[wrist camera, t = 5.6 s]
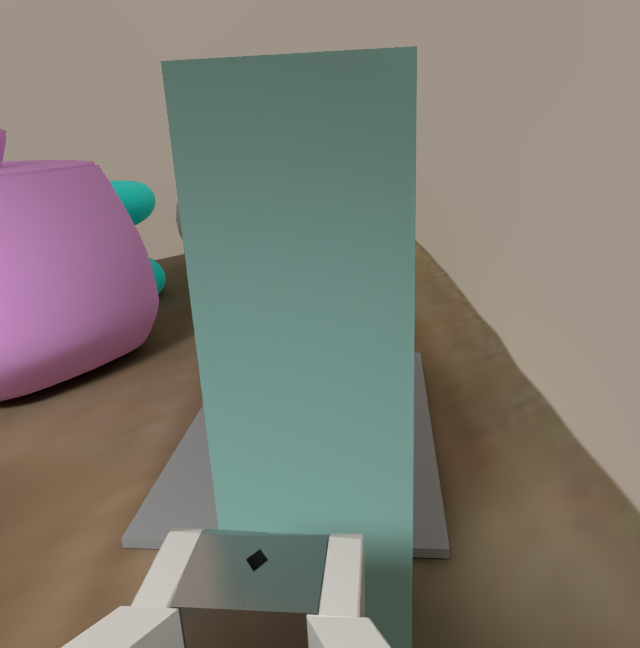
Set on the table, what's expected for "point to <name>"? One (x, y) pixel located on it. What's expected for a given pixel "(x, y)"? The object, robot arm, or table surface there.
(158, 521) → the grey mat
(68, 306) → the teapot
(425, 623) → the table surface
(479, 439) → the table surface
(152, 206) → the donuts
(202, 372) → the teal block
